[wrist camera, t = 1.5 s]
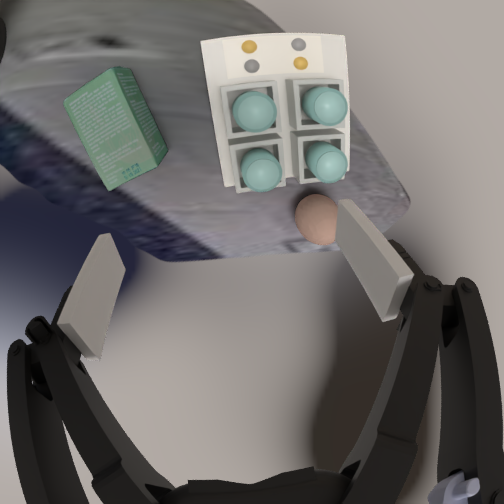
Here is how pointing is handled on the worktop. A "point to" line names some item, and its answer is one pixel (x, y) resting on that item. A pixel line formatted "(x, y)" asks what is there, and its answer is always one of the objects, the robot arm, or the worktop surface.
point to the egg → (317, 219)
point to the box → (116, 127)
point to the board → (275, 97)
